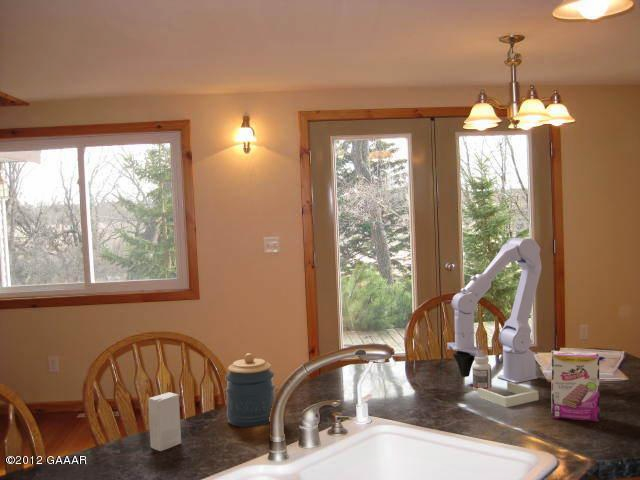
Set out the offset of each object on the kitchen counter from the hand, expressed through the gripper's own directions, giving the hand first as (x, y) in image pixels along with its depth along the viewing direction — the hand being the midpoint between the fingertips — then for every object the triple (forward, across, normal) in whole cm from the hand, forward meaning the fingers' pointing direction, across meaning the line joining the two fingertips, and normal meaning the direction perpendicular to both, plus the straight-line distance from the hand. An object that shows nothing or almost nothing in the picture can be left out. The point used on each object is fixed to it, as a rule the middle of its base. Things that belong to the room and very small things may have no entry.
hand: (465, 376), depth 187 cm
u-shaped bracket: (+2, +18, 0) cm, 18 cm away
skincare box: (+3, +2, -92) cm, 92 cm away
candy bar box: (+2, +38, +3) cm, 39 cm away
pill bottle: (+2, +8, 0) cm, 8 cm away
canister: (+3, -4, -68) cm, 68 cm away
